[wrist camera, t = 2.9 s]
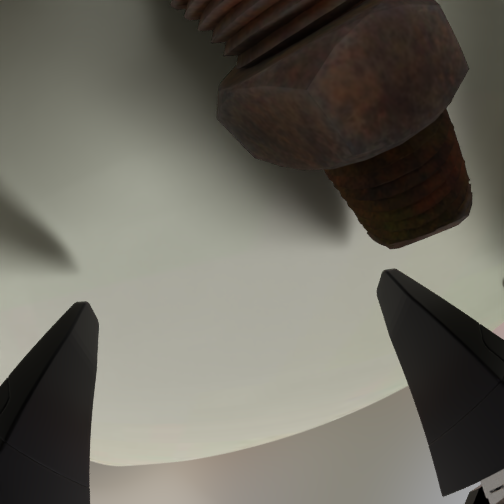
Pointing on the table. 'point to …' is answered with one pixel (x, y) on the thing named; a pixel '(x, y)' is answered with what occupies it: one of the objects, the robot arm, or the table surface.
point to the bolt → (349, 102)
